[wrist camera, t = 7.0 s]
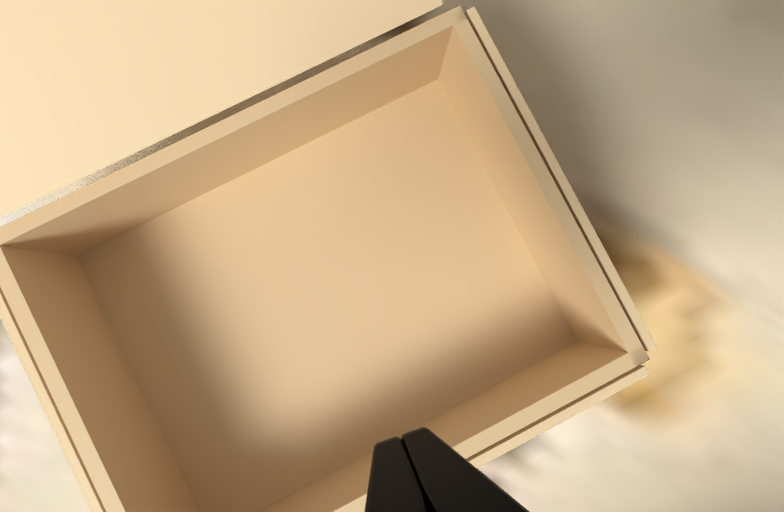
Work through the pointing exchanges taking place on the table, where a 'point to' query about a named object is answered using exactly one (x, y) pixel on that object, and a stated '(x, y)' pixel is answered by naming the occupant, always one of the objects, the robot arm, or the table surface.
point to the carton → (320, 289)
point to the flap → (150, 72)
